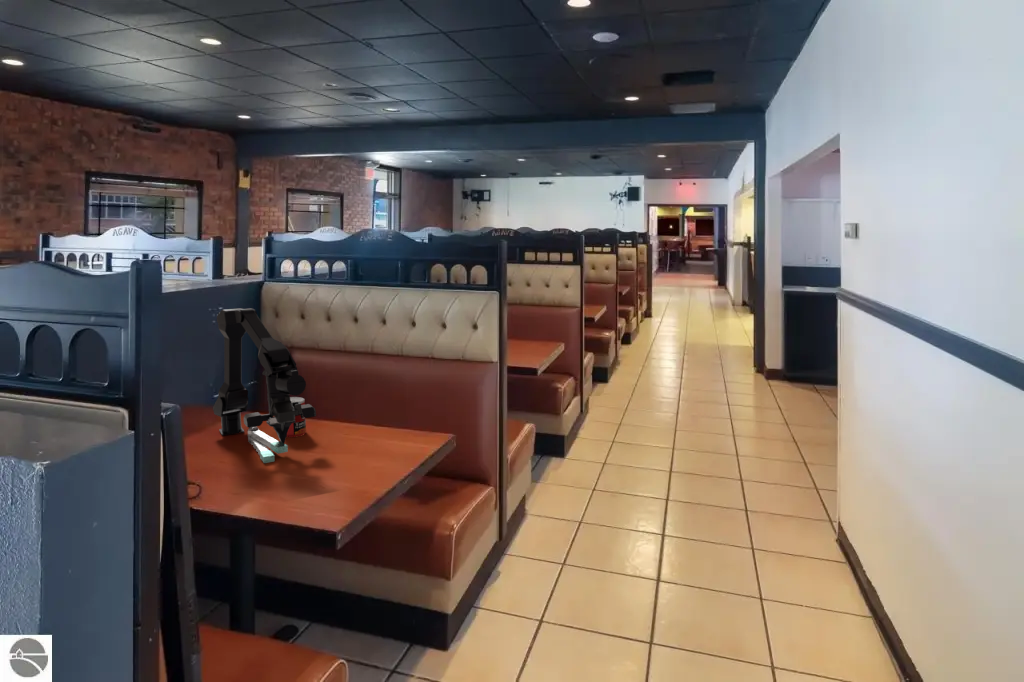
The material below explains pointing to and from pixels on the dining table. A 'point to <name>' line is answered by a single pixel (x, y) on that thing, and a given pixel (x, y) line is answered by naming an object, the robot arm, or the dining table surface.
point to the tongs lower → (262, 450)
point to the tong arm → (267, 440)
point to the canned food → (297, 421)
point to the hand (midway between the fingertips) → (282, 444)
